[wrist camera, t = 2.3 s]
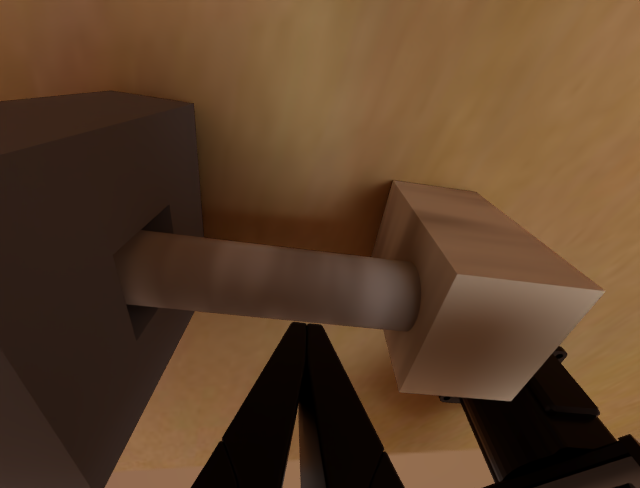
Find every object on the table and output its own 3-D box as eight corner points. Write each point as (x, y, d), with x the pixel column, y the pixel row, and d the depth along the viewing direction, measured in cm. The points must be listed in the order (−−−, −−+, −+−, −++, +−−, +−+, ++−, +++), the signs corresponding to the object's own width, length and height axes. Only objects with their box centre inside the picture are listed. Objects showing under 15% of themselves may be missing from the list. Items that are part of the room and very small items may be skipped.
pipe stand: (403, 352, 19) (442, 480, 13) (-206, 297, 16) (-509, 428, 10) (476, 192, 13) (605, 291, 7) (-457, 60, 10) (-1499, 46, 4)
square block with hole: (207, 286, 15) (98, 499, 8) (149, 280, 15) (-22, 493, 8) (193, 103, 11) (-108, 182, 3) (110, 90, 11) (-433, 143, 3)
